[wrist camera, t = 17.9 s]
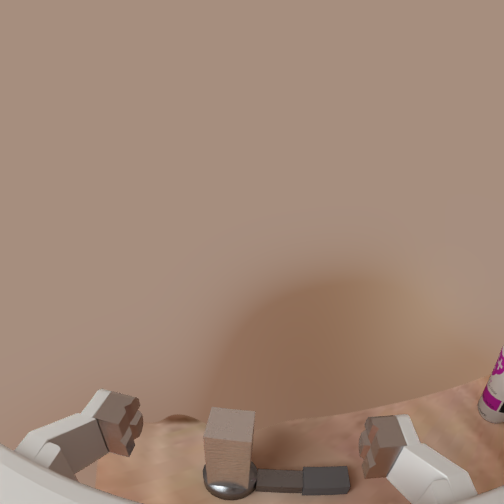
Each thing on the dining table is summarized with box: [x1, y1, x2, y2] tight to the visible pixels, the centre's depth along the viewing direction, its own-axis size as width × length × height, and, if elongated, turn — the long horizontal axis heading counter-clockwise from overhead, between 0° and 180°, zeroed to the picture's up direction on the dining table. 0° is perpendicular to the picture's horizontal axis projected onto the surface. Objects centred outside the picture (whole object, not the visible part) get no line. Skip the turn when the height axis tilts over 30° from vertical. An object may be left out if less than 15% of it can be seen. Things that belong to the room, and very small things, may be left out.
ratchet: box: [203, 461, 350, 500], centre depth 33 cm, size 19×7×6 cm, turn 85°
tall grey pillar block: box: [203, 407, 255, 489], centre depth 33 cm, size 5×5×10 cm
